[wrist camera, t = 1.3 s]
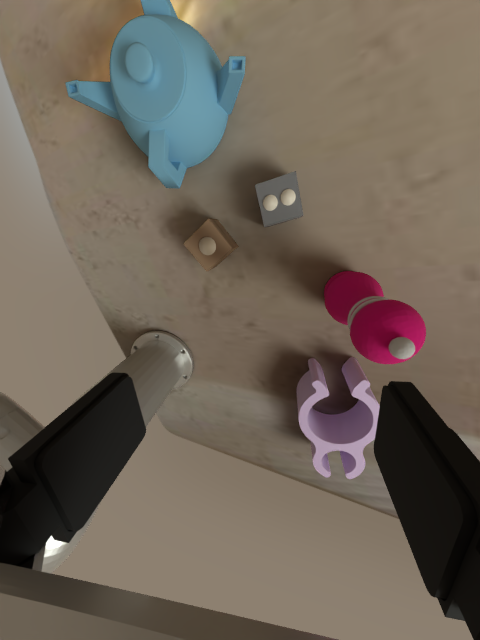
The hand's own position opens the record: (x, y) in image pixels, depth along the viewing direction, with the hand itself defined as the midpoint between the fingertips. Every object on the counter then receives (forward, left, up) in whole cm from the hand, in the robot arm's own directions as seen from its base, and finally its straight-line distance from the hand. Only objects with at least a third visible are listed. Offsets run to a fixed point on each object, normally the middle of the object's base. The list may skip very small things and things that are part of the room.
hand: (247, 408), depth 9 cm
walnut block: (-6, +8, -31) cm, 33 cm away
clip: (-2, -27, -32) cm, 41 cm away
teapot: (-1, +25, -31) cm, 40 cm away
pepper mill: (+8, -8, -31) cm, 33 cm away
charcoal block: (+5, +8, -31) cm, 33 cm away
